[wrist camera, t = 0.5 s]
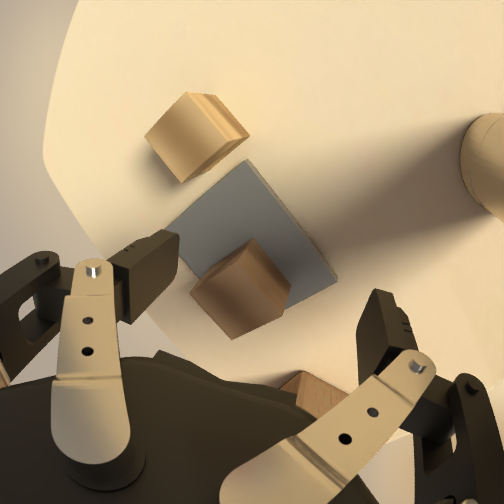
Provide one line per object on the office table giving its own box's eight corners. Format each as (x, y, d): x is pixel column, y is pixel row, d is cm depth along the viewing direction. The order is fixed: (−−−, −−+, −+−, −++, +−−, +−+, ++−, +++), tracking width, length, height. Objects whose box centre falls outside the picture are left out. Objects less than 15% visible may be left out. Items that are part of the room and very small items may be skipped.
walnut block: (253, 237, 29) (237, 261, 24) (291, 285, 30) (282, 315, 25) (209, 267, 31) (189, 293, 27) (246, 310, 32) (231, 340, 28)
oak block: (215, 95, 25) (185, 92, 20) (250, 135, 26) (227, 141, 20) (179, 130, 27) (143, 136, 22) (210, 169, 28) (181, 183, 23)
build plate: (247, 158, 27) (244, 160, 26) (337, 276, 29) (336, 281, 28) (165, 229, 32) (161, 232, 31) (246, 324, 35) (244, 329, 34)
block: (261, 399, 40) (216, 522, 23) (302, 365, 35) (263, 518, 18) (315, 426, 40) (289, 543, 23) (361, 397, 35) (348, 537, 18)
